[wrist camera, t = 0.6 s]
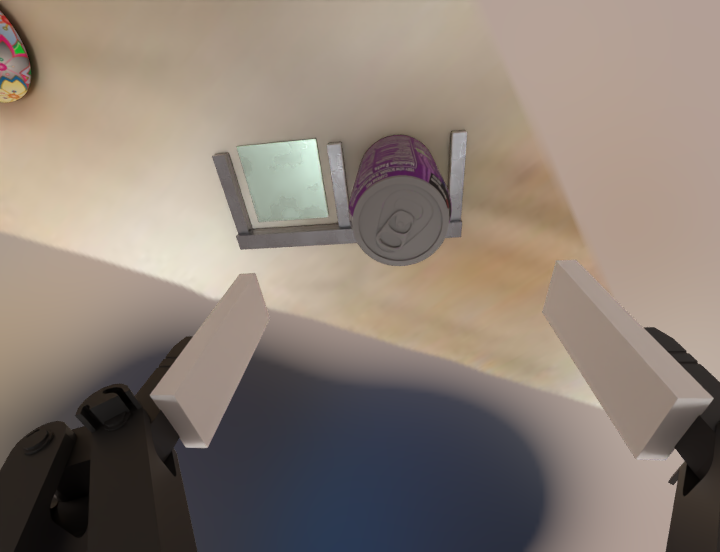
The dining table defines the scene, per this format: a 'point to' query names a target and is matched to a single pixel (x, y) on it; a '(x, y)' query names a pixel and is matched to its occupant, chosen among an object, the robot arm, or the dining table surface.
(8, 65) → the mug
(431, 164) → the beverage can
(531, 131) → the dining table surface
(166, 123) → the dining table surface
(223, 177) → the grey flat frame
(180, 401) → the robot arm
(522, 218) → the dining table surface
